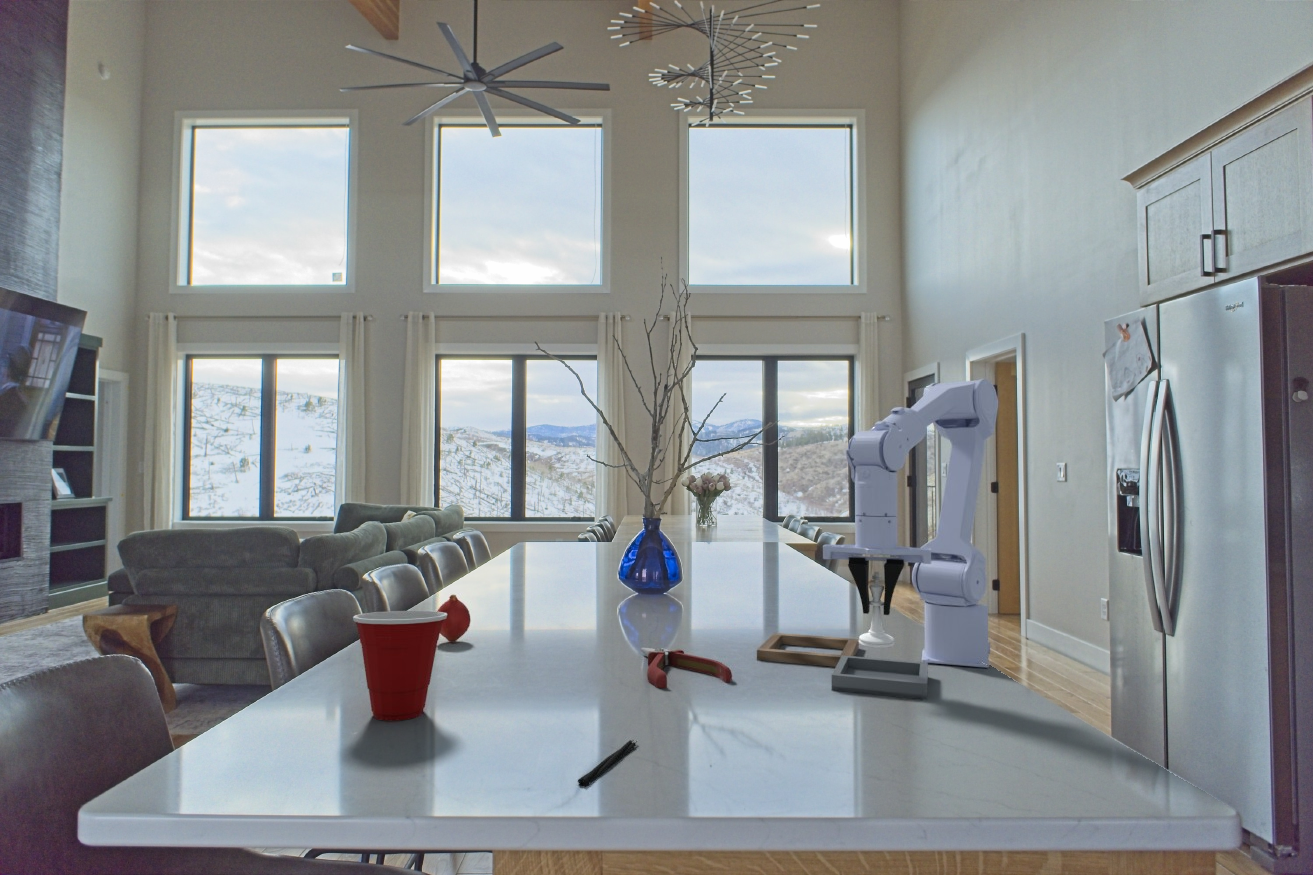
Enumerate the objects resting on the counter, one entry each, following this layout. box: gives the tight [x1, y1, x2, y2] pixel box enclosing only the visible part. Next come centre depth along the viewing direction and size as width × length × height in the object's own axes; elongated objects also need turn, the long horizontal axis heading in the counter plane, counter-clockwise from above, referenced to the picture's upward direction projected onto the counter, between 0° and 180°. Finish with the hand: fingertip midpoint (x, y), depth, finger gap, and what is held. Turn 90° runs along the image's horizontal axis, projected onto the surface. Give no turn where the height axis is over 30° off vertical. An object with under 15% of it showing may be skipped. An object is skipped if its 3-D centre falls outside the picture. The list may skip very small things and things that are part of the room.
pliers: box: [640, 647, 733, 689], centre depth 117 cm, size 12×20×3 cm, turn 19°
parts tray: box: [831, 655, 929, 700], centre depth 110 cm, size 12×12×2 cm
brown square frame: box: [756, 632, 860, 668], centre depth 127 cm, size 14×14×2 cm
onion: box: [436, 594, 472, 643], centre depth 134 cm, size 6×6×8 cm
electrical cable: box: [577, 738, 638, 787], centre depth 79 cm, size 12×1×1 cm, turn 158°
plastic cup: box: [352, 610, 447, 722], centre depth 95 cm, size 11×11×12 cm
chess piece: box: [858, 571, 896, 649], centre depth 111 cm, size 5×5×10 cm
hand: (876, 613), depth 111 cm, fingers closed on chess piece, 2 cm apart
